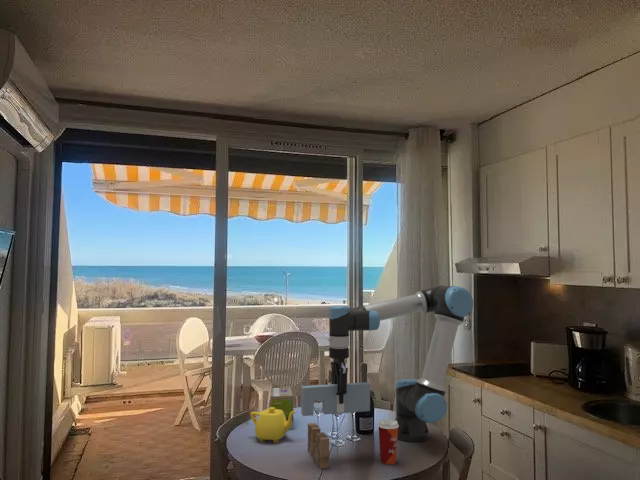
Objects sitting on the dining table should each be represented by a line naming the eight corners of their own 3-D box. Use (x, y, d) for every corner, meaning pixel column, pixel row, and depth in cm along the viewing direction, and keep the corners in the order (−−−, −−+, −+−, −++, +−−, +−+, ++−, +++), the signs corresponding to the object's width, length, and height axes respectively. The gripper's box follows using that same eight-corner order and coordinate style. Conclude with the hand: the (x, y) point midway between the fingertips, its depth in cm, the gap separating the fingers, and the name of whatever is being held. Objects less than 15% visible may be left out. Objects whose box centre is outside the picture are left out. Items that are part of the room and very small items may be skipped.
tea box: (270, 419, 218) (270, 387, 219) (292, 418, 219) (292, 386, 220) (270, 430, 203) (270, 395, 204) (293, 429, 205) (294, 394, 206)
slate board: (303, 416, 171) (303, 388, 171) (301, 413, 174) (301, 386, 174) (370, 410, 178) (370, 383, 178) (367, 408, 181) (367, 382, 181)
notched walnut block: (307, 450, 181) (307, 423, 181) (315, 449, 182) (315, 422, 182) (320, 469, 164) (321, 439, 164) (329, 468, 164) (329, 438, 165)
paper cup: (396, 466, 166) (396, 426, 167) (375, 463, 168) (375, 423, 169) (401, 458, 173) (400, 419, 174) (380, 455, 176) (380, 417, 177)
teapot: (292, 446, 184) (292, 414, 185) (244, 442, 189) (244, 410, 190) (300, 435, 198) (301, 405, 198) (255, 431, 202) (256, 401, 203)
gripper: (323, 344, 184) (323, 405, 183) (336, 350, 169) (335, 417, 167) (341, 343, 186) (341, 404, 185) (355, 350, 171) (355, 416, 169)
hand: (338, 410), depth 176 cm, fingers closed on slate board, 3 cm apart
